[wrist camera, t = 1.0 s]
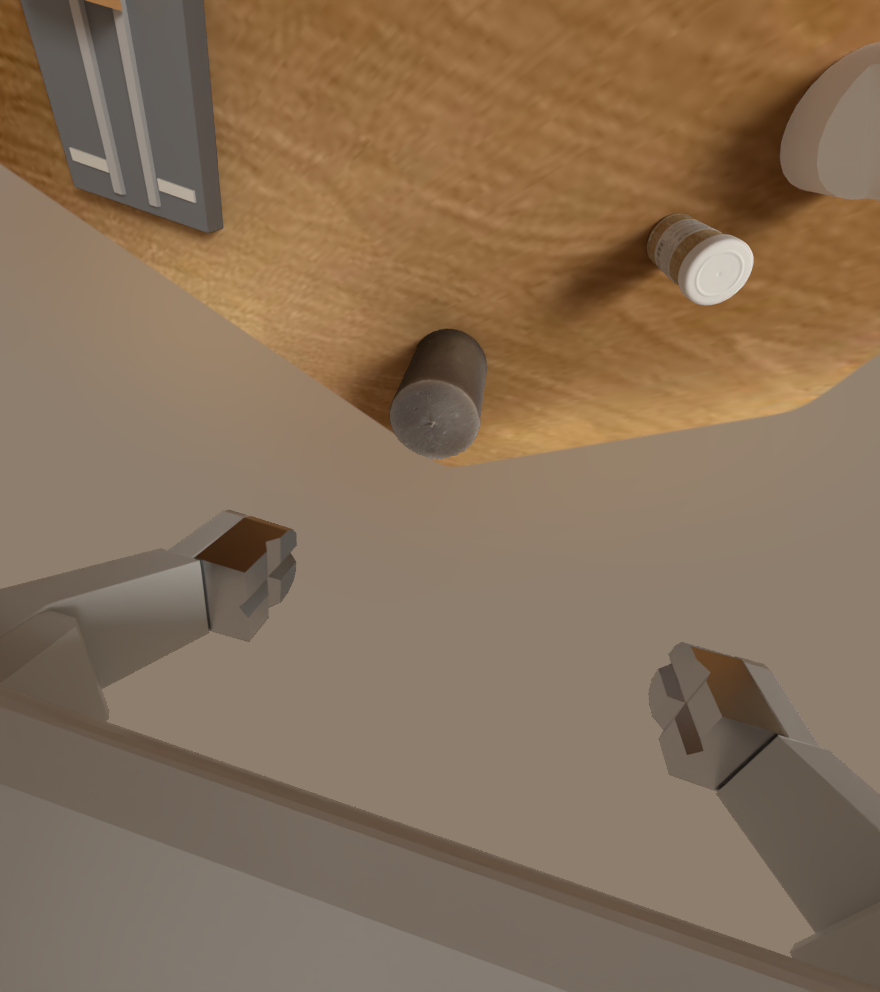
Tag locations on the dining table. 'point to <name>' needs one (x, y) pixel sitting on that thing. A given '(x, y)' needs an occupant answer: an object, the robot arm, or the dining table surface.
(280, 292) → the dining table surface
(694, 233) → the sprinkles bottle
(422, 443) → the pillar candle
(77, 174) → the fader console
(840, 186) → the base with upright slab
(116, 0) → the fader tab
